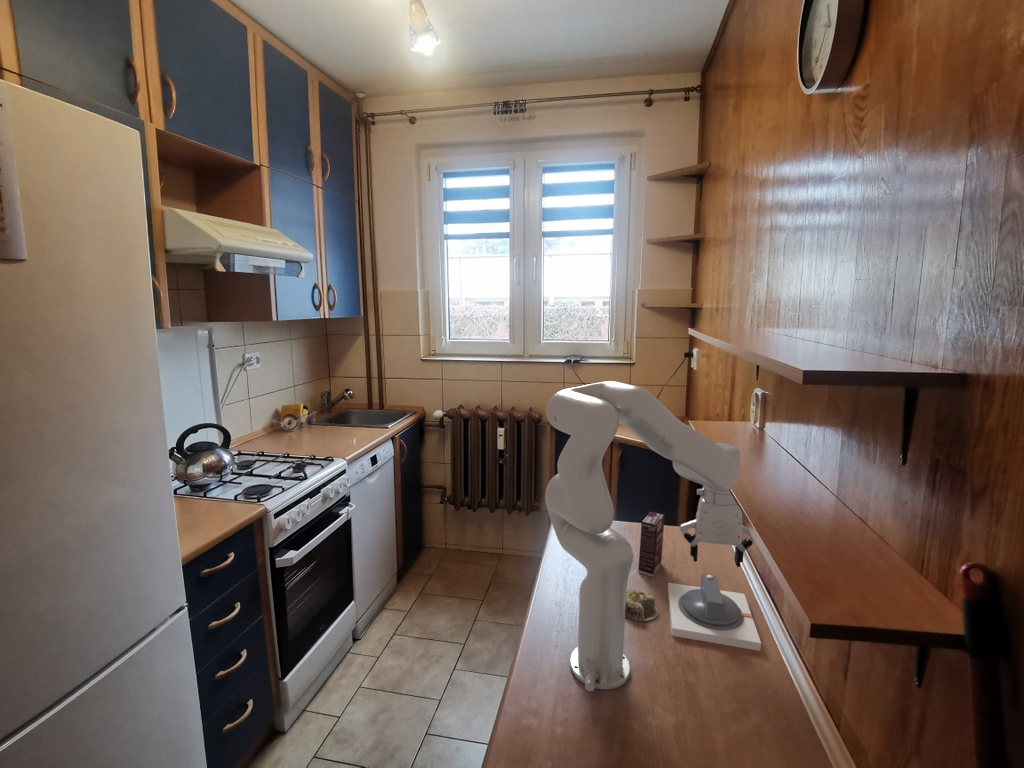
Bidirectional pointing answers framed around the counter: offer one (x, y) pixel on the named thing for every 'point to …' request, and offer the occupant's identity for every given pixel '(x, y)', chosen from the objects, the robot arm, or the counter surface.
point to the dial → (710, 604)
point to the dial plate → (691, 628)
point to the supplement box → (651, 544)
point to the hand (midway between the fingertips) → (715, 561)
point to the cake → (639, 605)
